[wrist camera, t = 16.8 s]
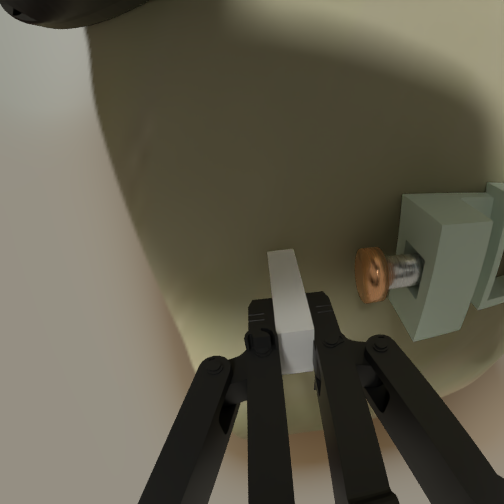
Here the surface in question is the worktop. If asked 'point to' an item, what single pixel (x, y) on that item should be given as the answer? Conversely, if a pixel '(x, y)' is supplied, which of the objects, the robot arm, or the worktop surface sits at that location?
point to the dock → (450, 258)
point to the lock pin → (385, 272)
